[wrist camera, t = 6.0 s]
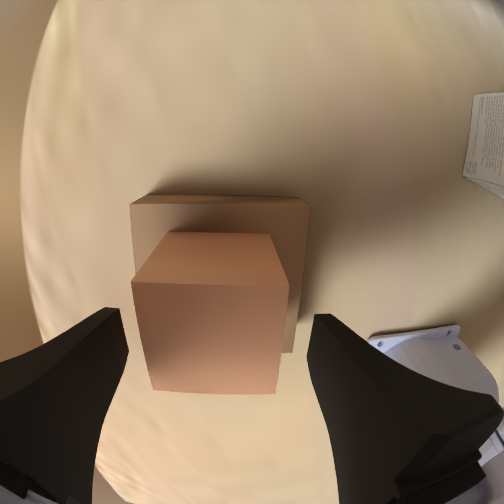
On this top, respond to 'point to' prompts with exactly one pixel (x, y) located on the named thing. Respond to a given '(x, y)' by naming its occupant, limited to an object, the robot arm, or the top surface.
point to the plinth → (229, 231)
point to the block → (212, 313)
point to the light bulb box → (486, 143)
